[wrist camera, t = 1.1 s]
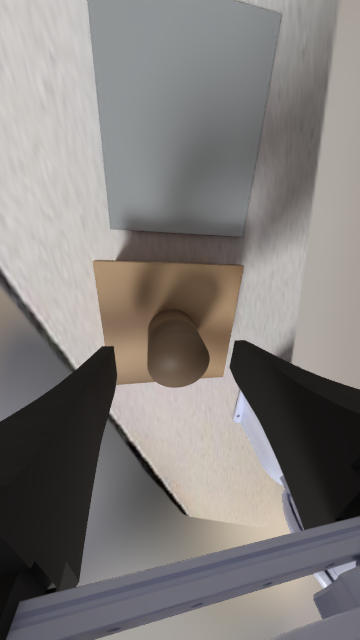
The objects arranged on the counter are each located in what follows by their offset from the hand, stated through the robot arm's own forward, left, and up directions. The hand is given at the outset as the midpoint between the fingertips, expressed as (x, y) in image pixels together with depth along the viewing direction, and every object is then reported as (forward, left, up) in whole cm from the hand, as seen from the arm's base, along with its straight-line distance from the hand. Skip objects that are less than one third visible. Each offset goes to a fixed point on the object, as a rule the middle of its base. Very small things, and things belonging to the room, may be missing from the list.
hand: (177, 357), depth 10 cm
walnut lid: (0, 0, -4) cm, 4 cm away
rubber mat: (+13, -1, -8) cm, 15 cm away
